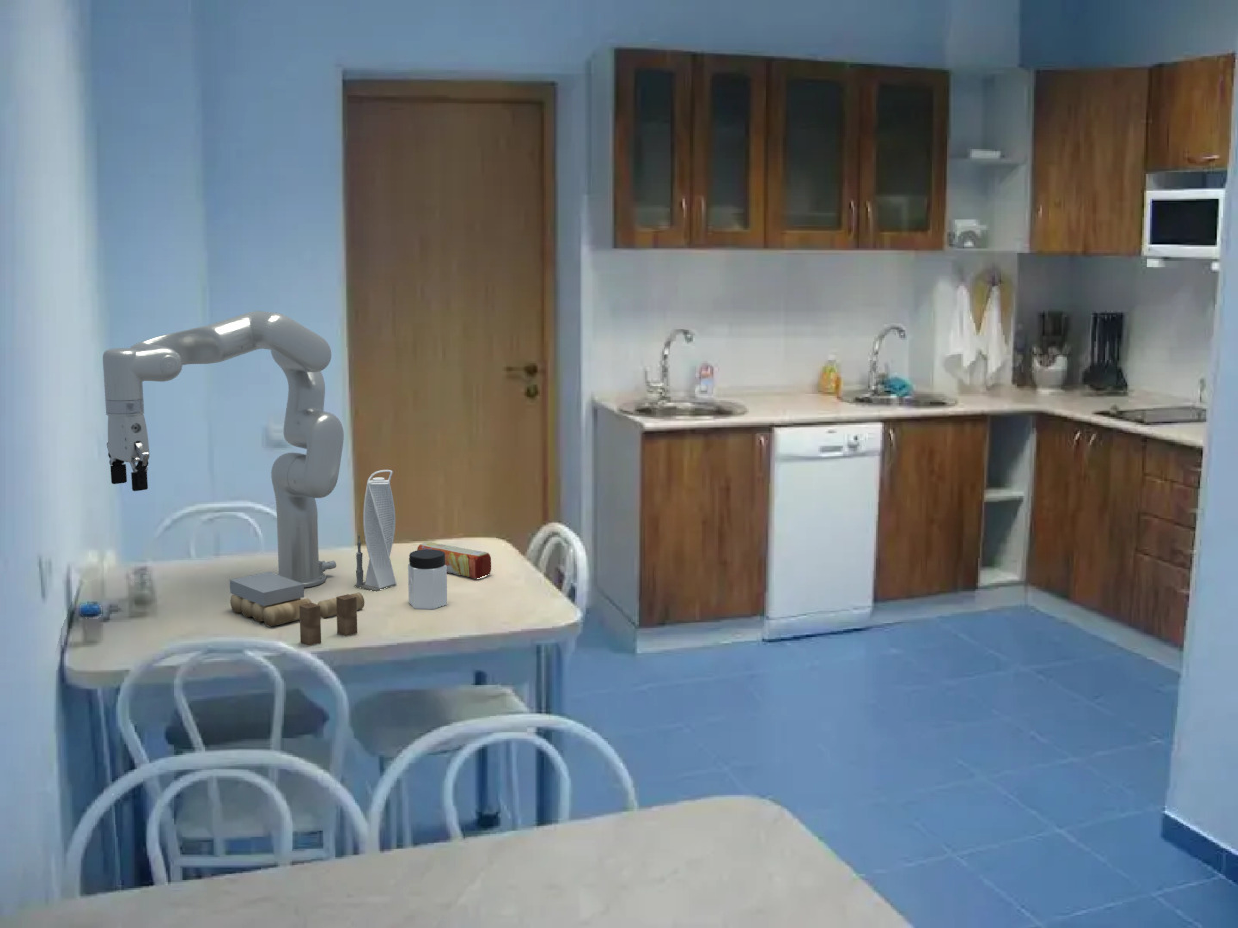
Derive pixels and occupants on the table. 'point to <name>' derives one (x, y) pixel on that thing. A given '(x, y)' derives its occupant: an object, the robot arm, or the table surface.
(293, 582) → the slab
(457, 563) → the snack package
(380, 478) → the skyscraper
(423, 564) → the jar
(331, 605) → the roller
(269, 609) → the roller track
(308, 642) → the posts
